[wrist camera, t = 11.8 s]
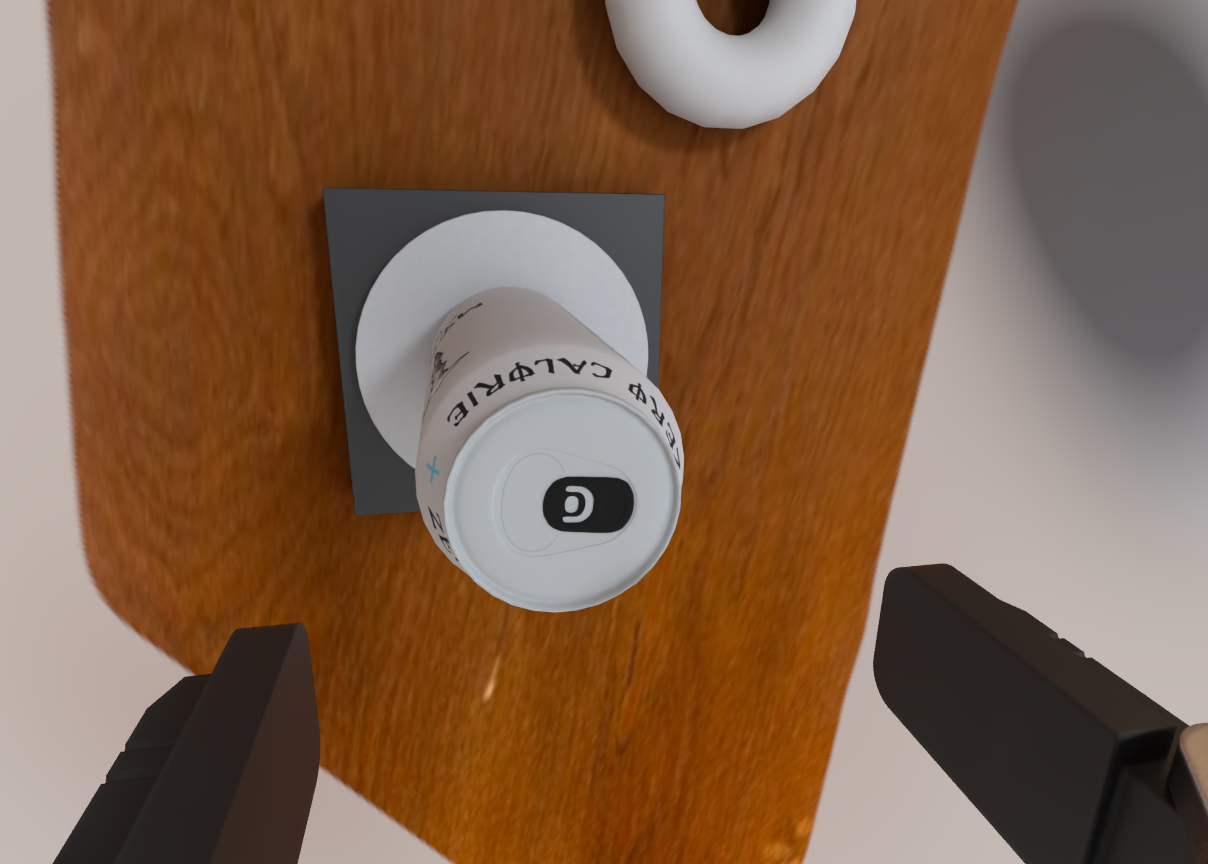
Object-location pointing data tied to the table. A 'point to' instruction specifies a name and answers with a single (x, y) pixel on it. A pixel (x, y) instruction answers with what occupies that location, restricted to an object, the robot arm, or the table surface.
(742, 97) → the donut
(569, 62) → the table surface
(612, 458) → the energy drink can
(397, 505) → the scale
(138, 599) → the table surface
